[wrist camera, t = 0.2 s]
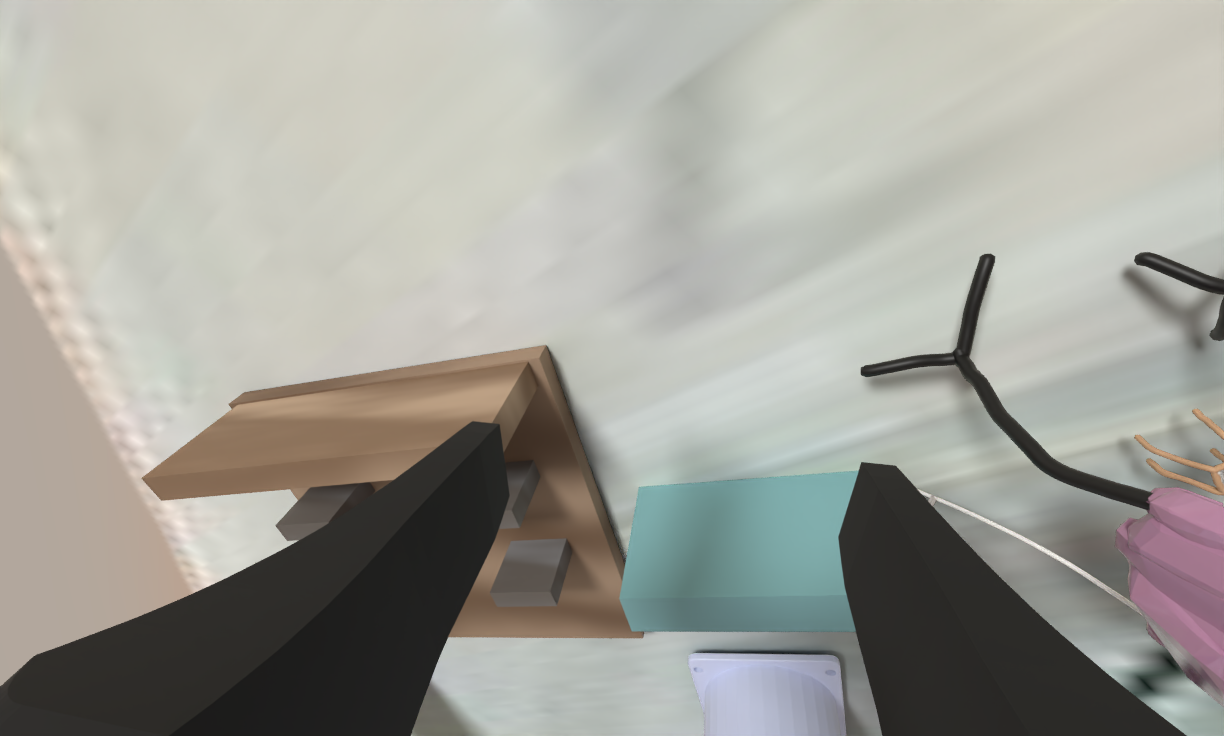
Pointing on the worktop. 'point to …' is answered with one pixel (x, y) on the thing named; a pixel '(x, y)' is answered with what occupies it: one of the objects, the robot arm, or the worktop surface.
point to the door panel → (739, 556)
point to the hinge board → (399, 438)
